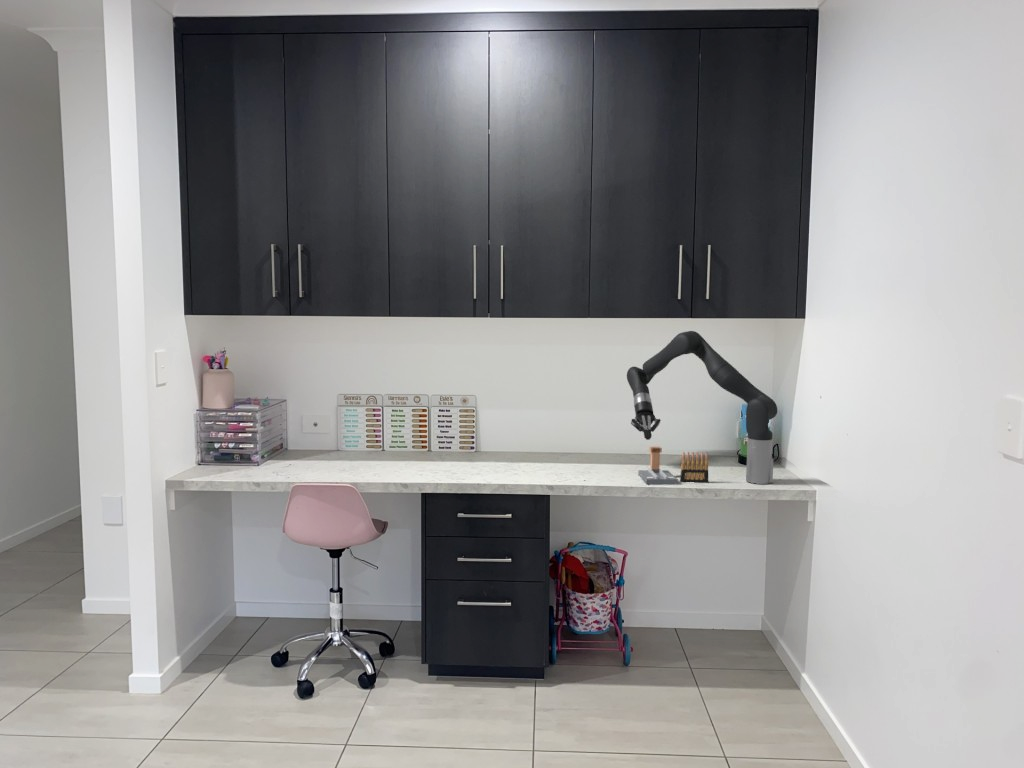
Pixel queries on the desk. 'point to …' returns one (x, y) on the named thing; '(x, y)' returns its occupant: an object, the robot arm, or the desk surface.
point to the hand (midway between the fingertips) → (648, 438)
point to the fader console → (657, 477)
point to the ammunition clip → (694, 469)
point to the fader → (655, 458)
